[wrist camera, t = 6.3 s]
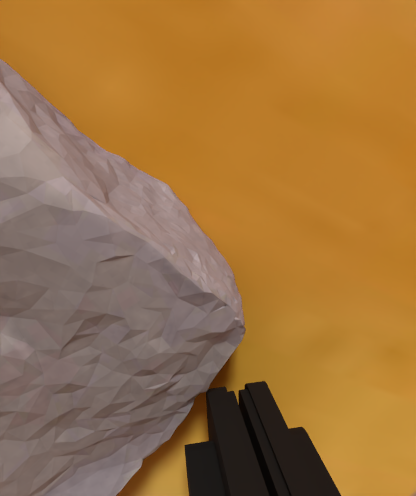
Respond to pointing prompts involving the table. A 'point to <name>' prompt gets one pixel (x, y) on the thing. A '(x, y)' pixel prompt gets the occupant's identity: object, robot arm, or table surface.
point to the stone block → (96, 306)
